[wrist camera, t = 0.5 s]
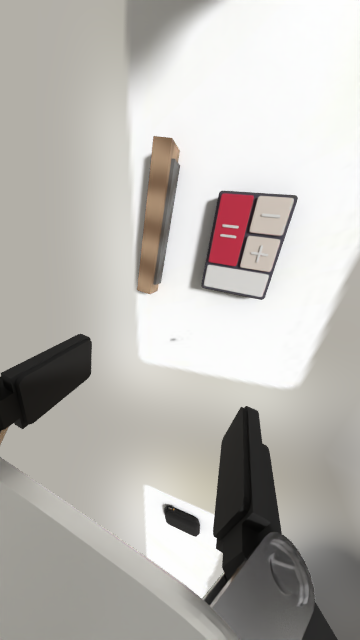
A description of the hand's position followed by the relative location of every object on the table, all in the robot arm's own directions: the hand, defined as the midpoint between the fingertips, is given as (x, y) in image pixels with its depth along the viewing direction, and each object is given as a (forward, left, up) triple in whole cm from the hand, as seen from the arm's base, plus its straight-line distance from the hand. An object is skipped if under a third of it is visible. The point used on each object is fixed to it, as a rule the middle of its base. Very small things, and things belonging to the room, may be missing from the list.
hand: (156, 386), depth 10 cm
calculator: (-8, +2, -28) cm, 29 cm away
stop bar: (-8, -14, -28) cm, 32 cm away
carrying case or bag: (+93, +14, -28) cm, 98 cm away
